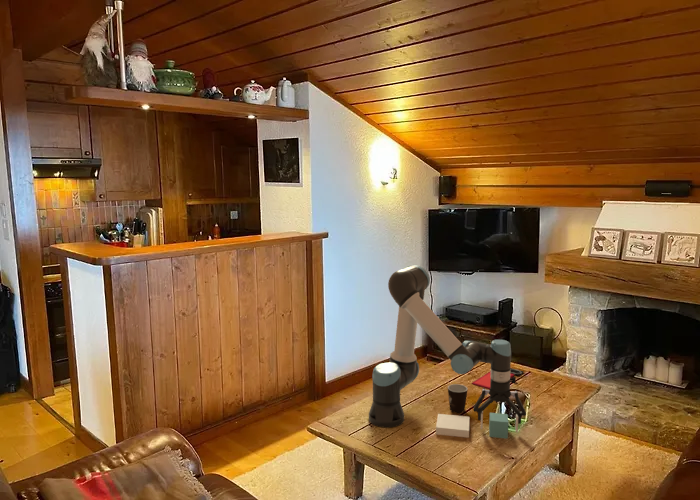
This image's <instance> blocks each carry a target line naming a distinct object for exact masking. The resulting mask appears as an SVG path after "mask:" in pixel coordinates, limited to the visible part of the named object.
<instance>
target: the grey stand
mask: <svg viewBox="0 0 700 500" xmlns="http://www.w3.org/2000/svg"><path fill="white" fill-rule="evenodd" d="M435 435H437V436H438V435H439V436H450V437H459V438H468V439H469V438H470V416H467V415H466V416H465V415H456V414H446V413H445V414H444V413H437V419H436V424H435Z"/></svg>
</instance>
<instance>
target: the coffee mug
mask: <svg viewBox="0 0 700 500" xmlns="http://www.w3.org/2000/svg"><path fill="white" fill-rule="evenodd" d="M447 395H448V404H449V410H450V411H451V412H453V413H459V414H461V413H464V412H465V410H466V409H465V408H466V402H467V395H468V387H467V386H466V385H464V384H459V383H452V384H449V385H448V386H447Z"/></svg>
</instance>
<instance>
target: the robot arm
mask: <svg viewBox="0 0 700 500" xmlns="http://www.w3.org/2000/svg"><path fill="white" fill-rule="evenodd" d="M430 279H431V278H430V275H429V273H428V271H427V270H426V269H425V267H422V266H421V265H417V264H415V265H414V264H413V265H409V266H407V267H405V268H402V269H399V270H395V271H394V272H393V273H392V274H391V275H390V277H389V279H388V284H387V285H388V291H389V293H390V295H391V297H392V299H393V300H394V302H395V303H396V305H398V312H397V313H398V315H397V321H396V323H397V324H396V331H395V332H396V333H395V340H394V341H395V342H394V350H393V351H392V352H391V353H390V356H389V362H387V361H386V362H384V363H383V362H381V363H378V364H377V365H376V366H374V368H373V371H372V375H371V376H372V380H371V381H372V403H371V406H370V408H369V412H368V420H369V422H370V423H371V425H374V426H376V427H380V428H394V427H398V426H401V425H402V424H403V423H404V422H405V412H404V409H403V406H402V404H401V390H403V389H404V388H406V387H407V386H408V385H409V384H411V383H412V382H413V381H415V380H416V378H417V377H418V375H419V374H420V365H419V363H418V361H417V360H418V359H417V356H416V355H417V354H415V346H416V339H417V338H416V336H417V329H418V325H419V326H420V327H421V329H422V330H423V331H425V333H426V334H427V335H428V336H429V337H430V338H431V339H432V341H433V342H434V343H435V344H436V345H437V346H438V348H439V349H440V350H441V351H442V352H443V353H444V355H446V356H447V358H449V360H450V367H451V369H452V370H453V372H454V373H456V374H459V375H464V374H467V373H468V372H470V371H471V370H472V369H473V368H474V367H476V366H477V365H478V364H479V363H484V364H490V371H491V380H490V389H486V388H483V387H482V389H481V394H480V395H479V396H478V399H477V401H476V402H475V404H474V406H473V412H476V413H477V420H478V421H480V430H483V429H484V428H483V426H484V425H483V423H484V422H483V420H484V419H483V418H484V410H486V409H487V408H488V407H489V406H490V405H491V404H493V402H496V403H506V404H507V405H508V406H509V407H510V408H511V410H512V411H514V413H515V428H514V430H515V433H519V425H521V424H522V417H524V416H526V415H527V412H526V409H525V407H524V405H523V403H522V401H521V400H520V398H519V393H518V390H515V391H511V381H510V368H511V362H512V361H511V360H512V348H511V343H510V341H507V340H505V339H494V340H492V341H491V343H485V342H480V341H479V342H478V341H475V340H464V341H463V342H461V341H460V340H459V339H458V338H457V336H455V335H454V334H453V332H452V331H451V330H450V329H449V328H448V327H447V326H446V325H445V323H444V322H443V321H442V320H441V319H440V318H439V316H437V314H436V313H435V312H434V311H433V310H432V309H431V308H430V306H428V304H427V303H426V302H425V301H424V298H425V290H427V288H429V286H430V281H431V280H430ZM488 394H489V397H488V398H487V400H485V401H484V399H485V397H486V396H487V395H488ZM511 396H512V397H513V398H514V399H515V401H516V403H517V405H518V407H519V408H518V407H517V406H516V405H515V404H514V402H513V401H512V400H511V398H510V397H511ZM483 401H484V402H483ZM482 402H483V403H482ZM519 409H520V410H519Z"/></svg>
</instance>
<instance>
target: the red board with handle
mask: <svg viewBox="0 0 700 500" xmlns="http://www.w3.org/2000/svg"><path fill="white" fill-rule="evenodd" d="M524 372H525V371H523V370H520V369H515V368H511V367H510V382H511V383H512V384H515V383H516V381H517V379H516V378H517V377H516V376H520V375H522V373H524ZM515 375H516V376H515ZM490 380H491V370H490V371H488V372H487V373H486V374H484V375H482V376H481V377H479V378H477V379H476V380H474V381H472V382H471V385H474V386H477V387H480V388H482V389H483V388H485V390H490Z"/></svg>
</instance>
